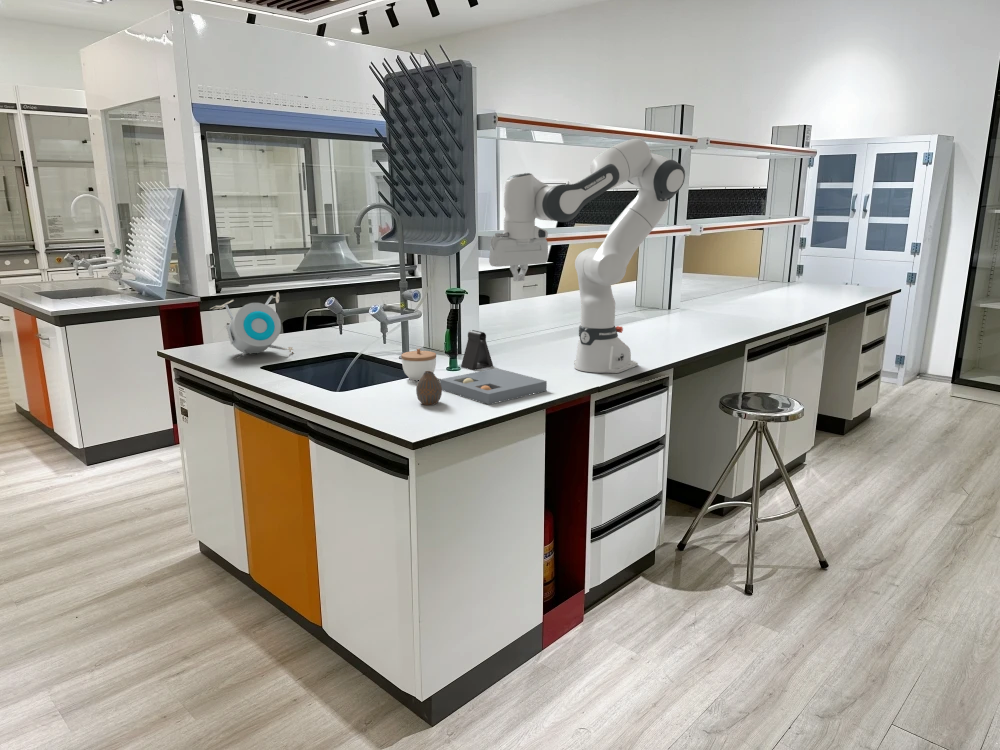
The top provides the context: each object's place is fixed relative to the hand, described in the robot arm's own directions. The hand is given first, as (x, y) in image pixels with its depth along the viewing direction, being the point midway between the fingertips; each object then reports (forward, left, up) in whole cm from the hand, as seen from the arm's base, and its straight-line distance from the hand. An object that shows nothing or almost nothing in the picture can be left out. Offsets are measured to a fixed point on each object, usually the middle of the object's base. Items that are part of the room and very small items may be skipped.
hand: (518, 280), depth 201 cm
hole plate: (+10, 0, -31) cm, 33 cm away
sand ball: (+15, -5, -29) cm, 33 cm away
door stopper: (-6, -27, -31) cm, 42 cm away
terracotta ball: (+17, +5, -29) cm, 34 cm away
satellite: (+43, -94, -31) cm, 108 cm away
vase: (+32, -1, -31) cm, 45 cm away
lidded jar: (+18, -26, -31) cm, 44 cm away
